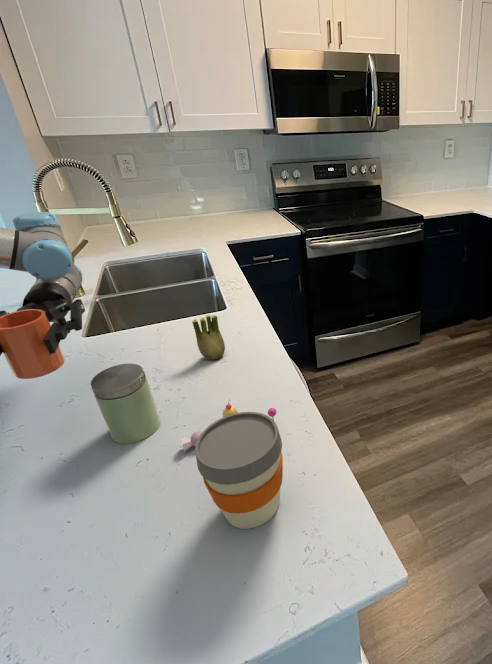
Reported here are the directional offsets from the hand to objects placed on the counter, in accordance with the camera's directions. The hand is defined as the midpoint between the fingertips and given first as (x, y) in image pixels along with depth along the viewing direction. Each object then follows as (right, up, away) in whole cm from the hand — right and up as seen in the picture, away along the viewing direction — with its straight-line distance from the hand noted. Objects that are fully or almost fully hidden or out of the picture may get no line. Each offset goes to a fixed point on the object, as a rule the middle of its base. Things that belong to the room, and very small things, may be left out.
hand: (19, 352), depth 70 cm
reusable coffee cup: (+39, -26, +1) cm, 46 cm away
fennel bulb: (+16, -5, +41) cm, 44 cm away
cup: (-2, -3, +7) cm, 8 cm away
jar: (+9, -17, +17) cm, 26 cm away
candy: (+29, -18, +16) cm, 38 cm away
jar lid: (+9, -6, +11) cm, 16 cm away
